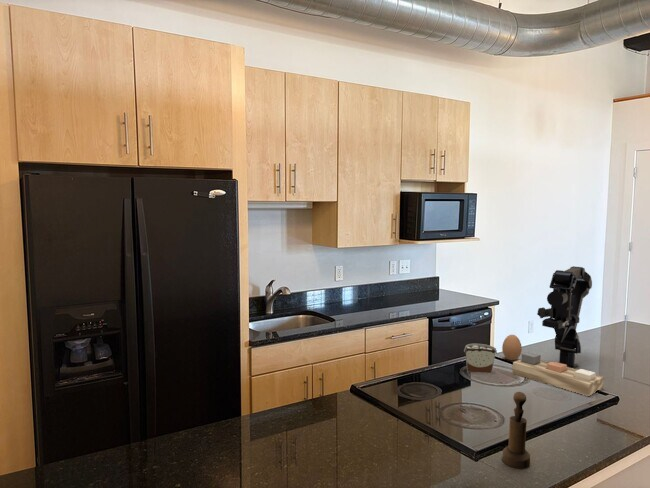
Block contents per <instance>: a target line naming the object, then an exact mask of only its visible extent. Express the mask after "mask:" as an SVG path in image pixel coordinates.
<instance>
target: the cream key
mask: <svg viewBox="0 0 650 488" xmlns="http://www.w3.org/2000/svg"><path fill="white" fill-rule="evenodd" d="M576 370H577V371H575V376H574V377H576V378H580V379H583V380H587V381H592V380H594V379H595V375H597V374H596V372H594V371H590V370H587V369H583V368H579V369H576Z"/></svg>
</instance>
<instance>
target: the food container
mask: <svg viewBox="0 0 650 488" xmlns="http://www.w3.org/2000/svg"><path fill="white" fill-rule="evenodd" d="M463 352H464V353H465V361H466V363H465V365H466V373H468V372H477V373H476V374H485V373H491V375H493V371H494V363H495V358H496V354H497V355H498V352H497V348H496V347H494V346H492V345H489V344H485V343H484V344H483V343H469V344H466V345H465V347H464V349H463Z"/></svg>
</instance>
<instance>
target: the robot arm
mask: <svg viewBox="0 0 650 488" xmlns="http://www.w3.org/2000/svg"><path fill="white" fill-rule="evenodd" d="M549 288H550V289H552V291H551V292H549V293H548V295H547V297H546V301H547V302H548V304H549V305H550V307H549V308H545V307H538V310H537V313H536V315H537V316H539V319H542V322H541V326H542V327H546V328H550V329H553V330H554V333H555V337H554V350H556V351H557V350H558V351H559V357H558V361H557V362H558V363H562V364H566V365H567V367H569V368H573V369H575V368H576V367H578V366H579V365H578V364H577V363H575V361H576V355H577V354H581V353H582V345H581V342H580V338H579V335H578V332H577V327H578V324H579V323H580V313H581V310H582V304H583V300H584V298H585V297H586V296H588V295H589V293H590V290H592V288H593V280H592V277H591V275H590V274H589V273H588V272H587V271H586V270H585V267H582V266H574V265H573V266H570V267H569V268H567V269H566V270H558V269H557V270H554V272H553V274H552V278H551V280H550V284H549Z"/></svg>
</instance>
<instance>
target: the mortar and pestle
mask: <svg viewBox="0 0 650 488" xmlns="http://www.w3.org/2000/svg"><path fill="white" fill-rule="evenodd" d="M512 399H513V401H514V404H515V408H514V409H513V412H514V415H511V416H509V428H508V446H505V448H503V449H502V457H501V459H502V461H503V463H504V464H506V465H507V466H510V467H512V468H515V469H525V468H528V467H530V465H531V454H530V453H529V452H528V451H527V450H526V440H527V438H526V437H527V422H528V420H527V419H526V418H525V417H523V416H524V412H525V410H524V409H523V406H524V405H525V403H526V401H527V395H526V394H525V393H524V392H521V391H515V392H514V394H513V398H512Z"/></svg>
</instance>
